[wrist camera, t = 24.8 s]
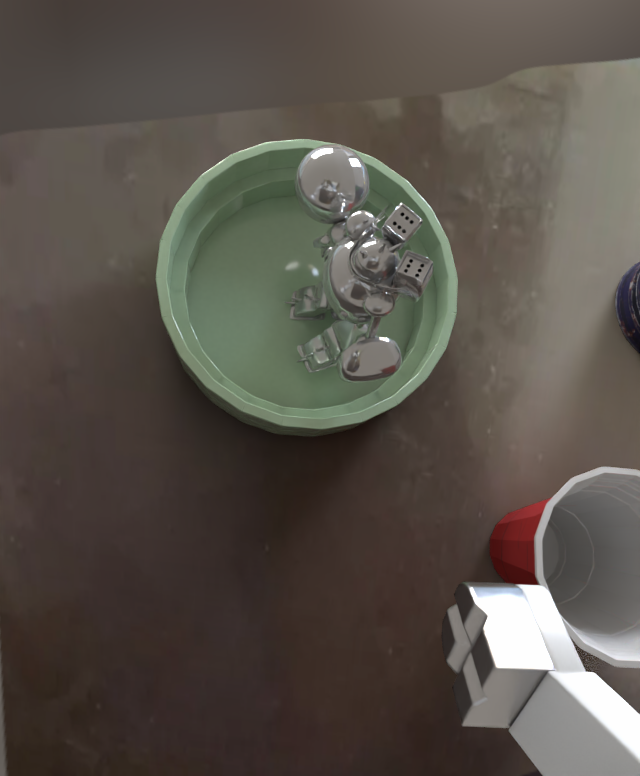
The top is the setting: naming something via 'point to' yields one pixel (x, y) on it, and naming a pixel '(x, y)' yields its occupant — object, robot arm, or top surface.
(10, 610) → the top surface
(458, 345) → the top surface
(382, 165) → the bowl
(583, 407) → the top surface
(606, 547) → the plastic cup
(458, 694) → the robot arm
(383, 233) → the robot toy
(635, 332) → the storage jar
